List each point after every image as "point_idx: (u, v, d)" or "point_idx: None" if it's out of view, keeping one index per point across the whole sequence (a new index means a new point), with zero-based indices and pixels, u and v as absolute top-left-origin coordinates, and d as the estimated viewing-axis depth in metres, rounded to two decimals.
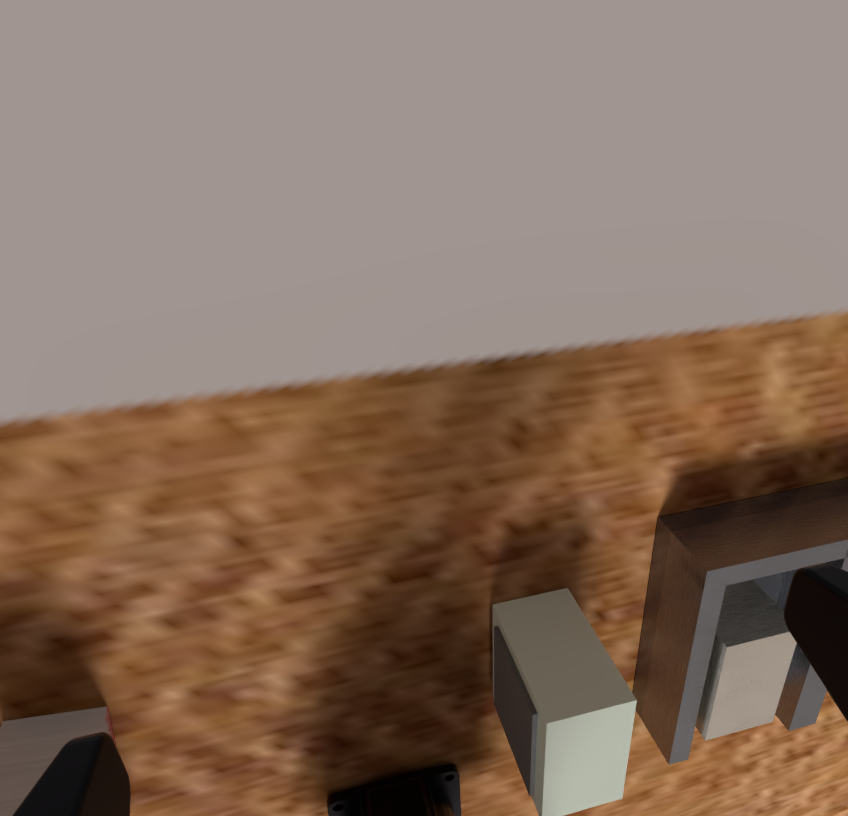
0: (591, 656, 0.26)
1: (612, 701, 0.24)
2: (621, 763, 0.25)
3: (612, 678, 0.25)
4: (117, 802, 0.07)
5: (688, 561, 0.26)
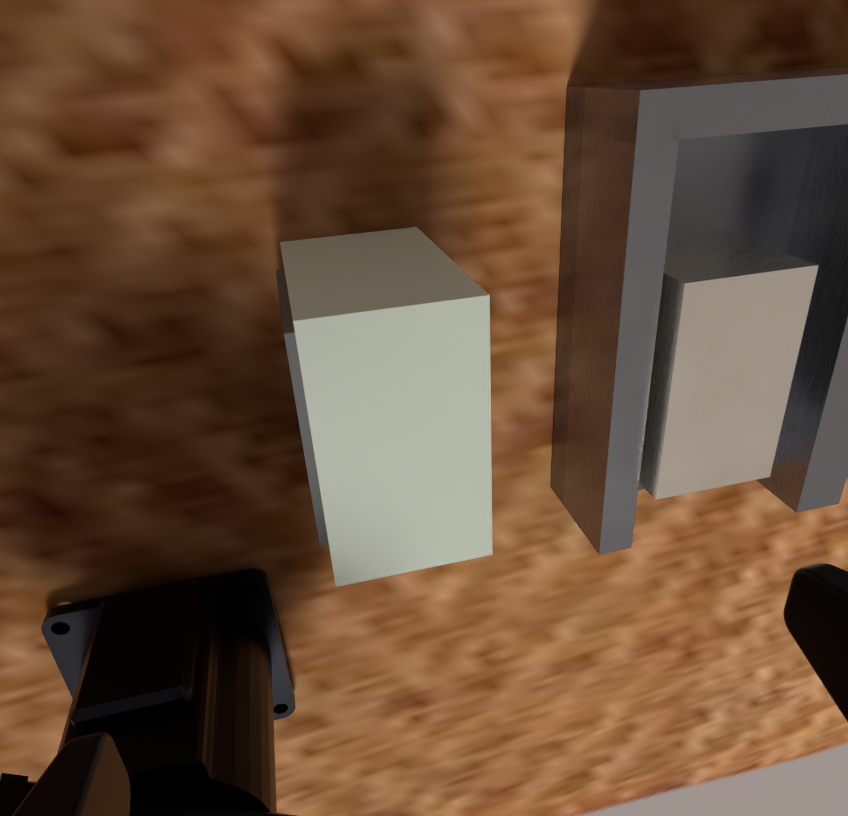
0: (423, 267, 0.14)
1: (440, 297, 0.12)
2: (479, 465, 0.13)
3: (452, 281, 0.13)
4: (117, 802, 0.07)
5: (611, 114, 0.14)
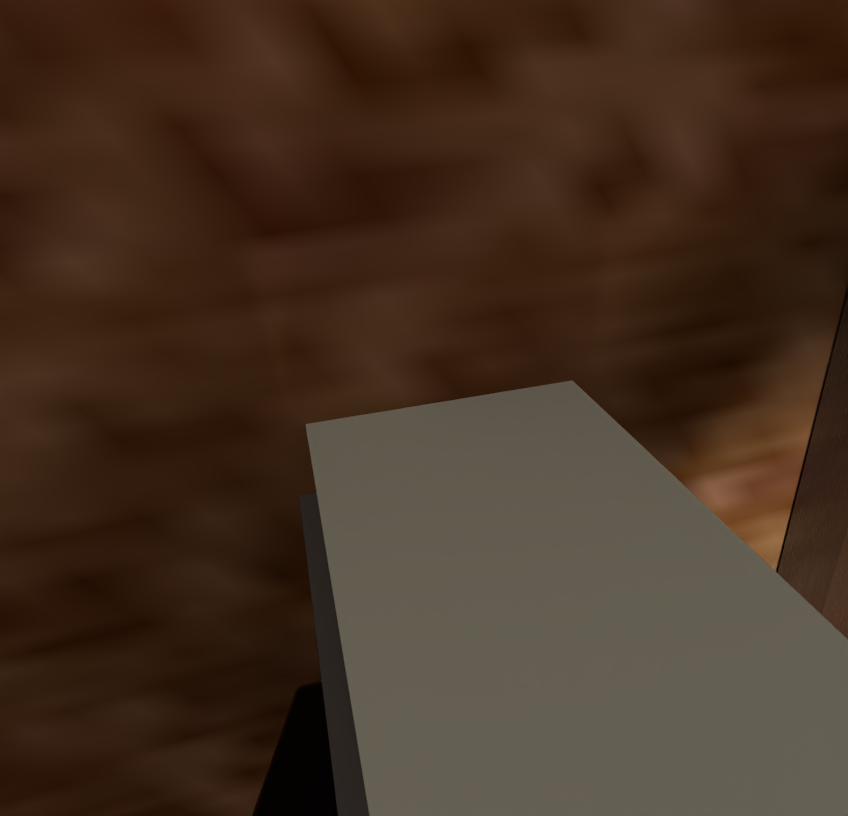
0: (692, 581, 0.05)
1: None
2: None
3: (835, 689, 0.04)
4: None
5: None
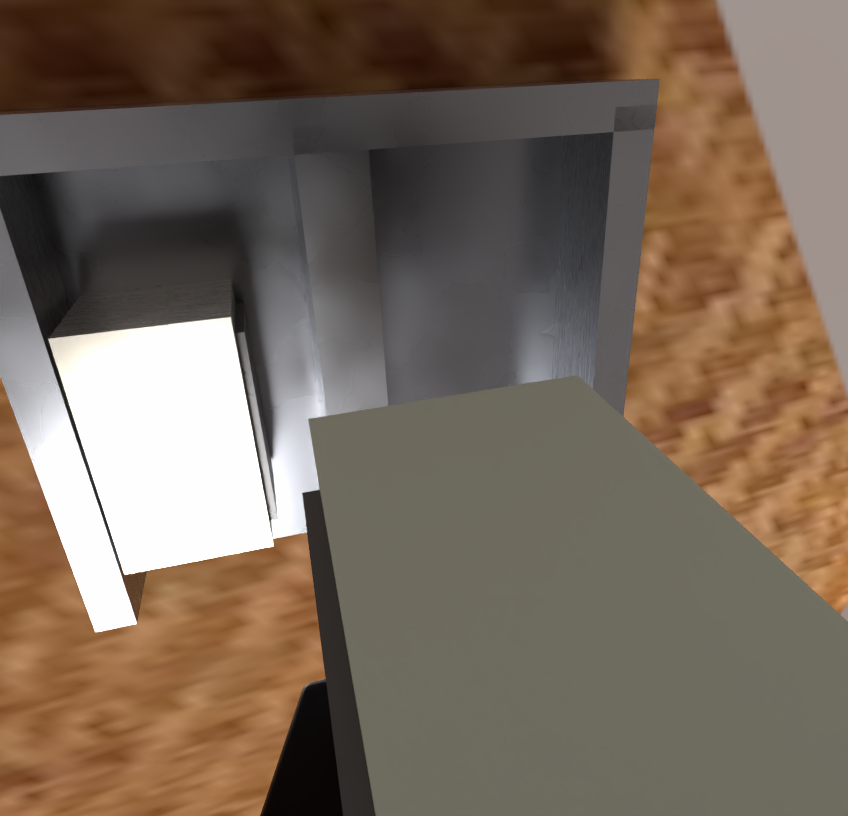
0: (705, 578, 0.05)
1: None
2: None
3: None
4: None
5: None
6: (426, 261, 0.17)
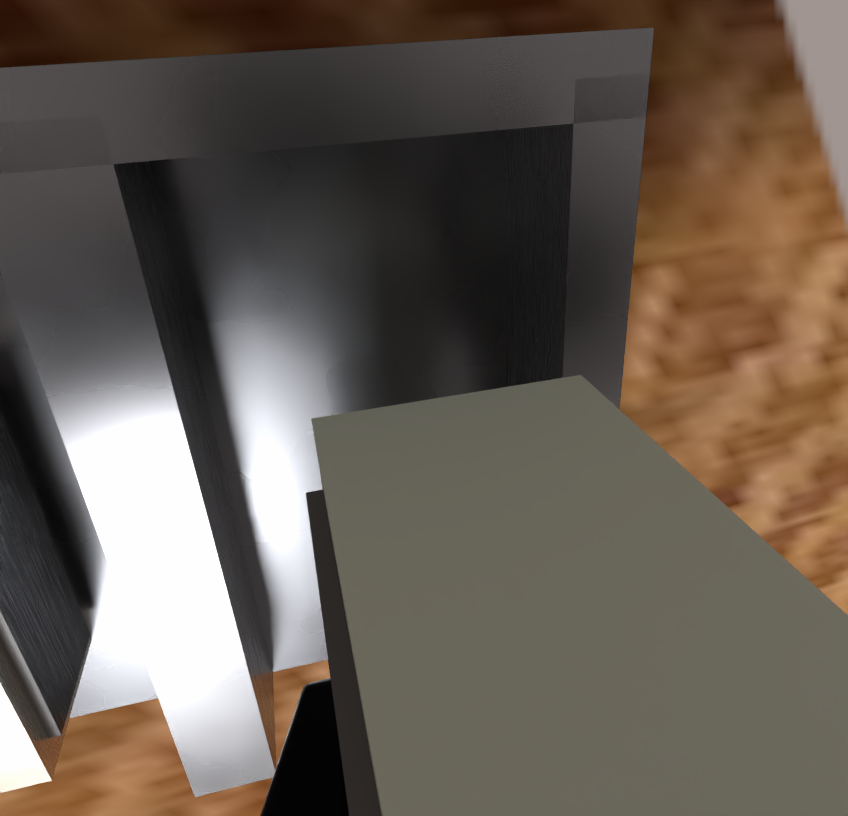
0: (711, 578, 0.05)
1: None
2: None
3: None
4: None
5: None
6: (298, 327, 0.11)
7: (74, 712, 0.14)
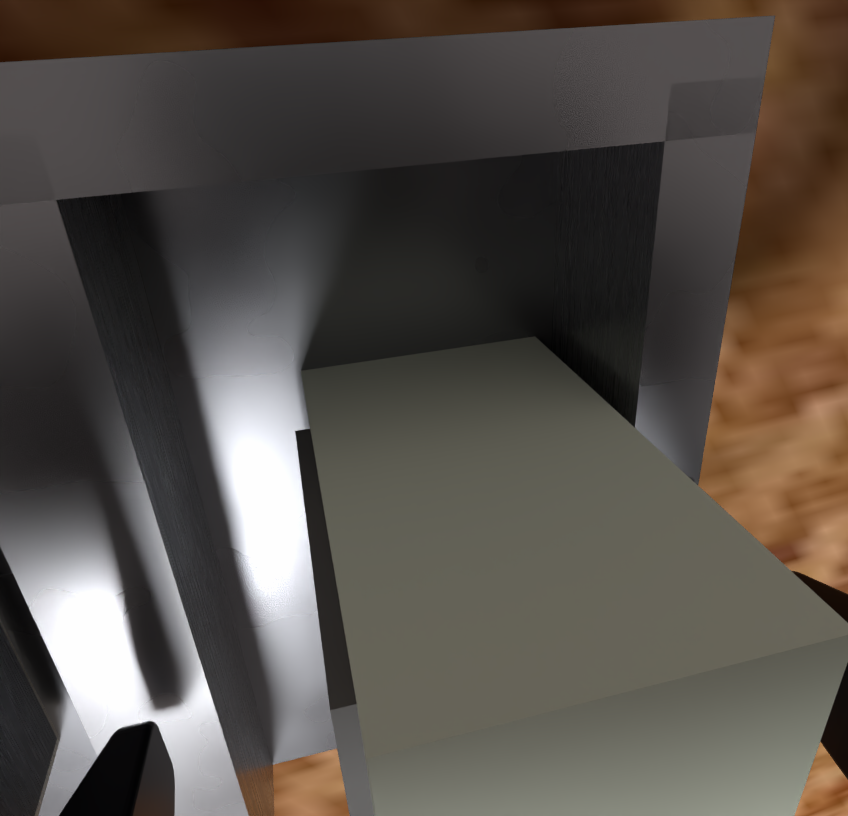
0: (614, 478, 0.06)
1: (731, 637, 0.05)
2: None
3: (712, 546, 0.05)
4: (164, 790, 0.07)
5: None
6: None
7: None
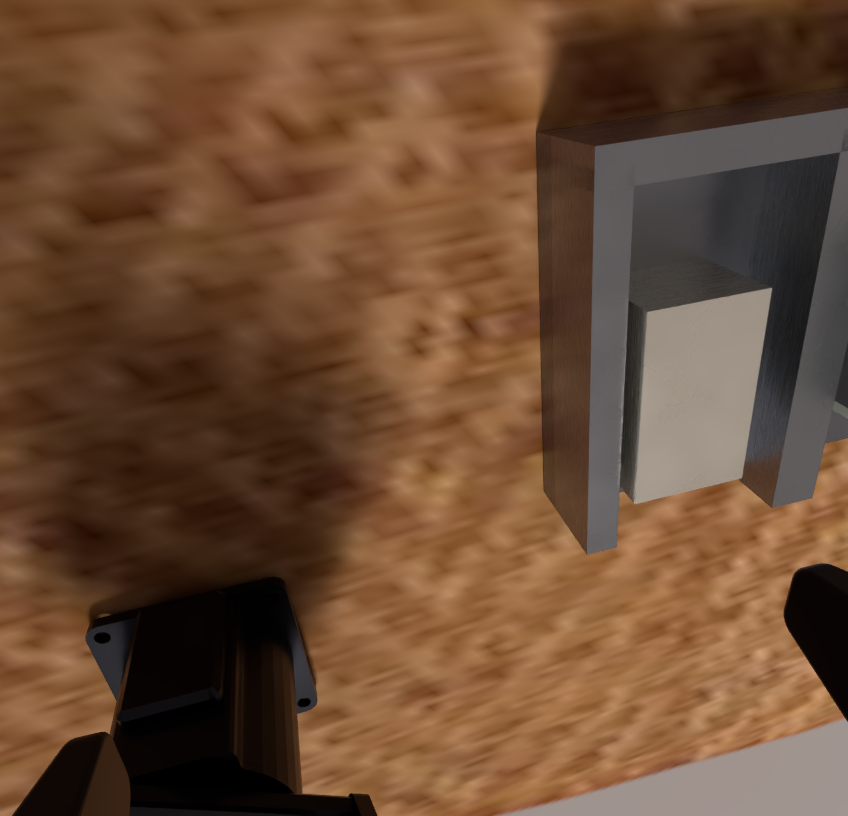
0: None
1: None
2: None
3: None
4: (117, 802, 0.07)
5: (573, 162, 0.16)
6: None
7: None
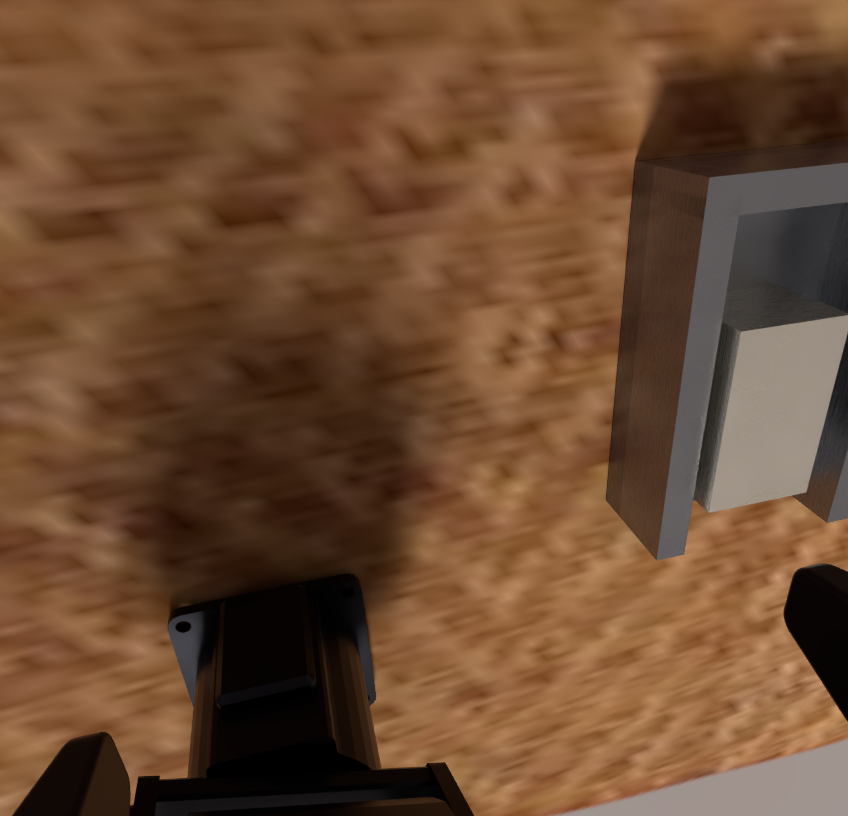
0: None
1: None
2: None
3: None
4: (116, 802, 0.07)
5: (680, 191, 0.17)
6: None
7: None
